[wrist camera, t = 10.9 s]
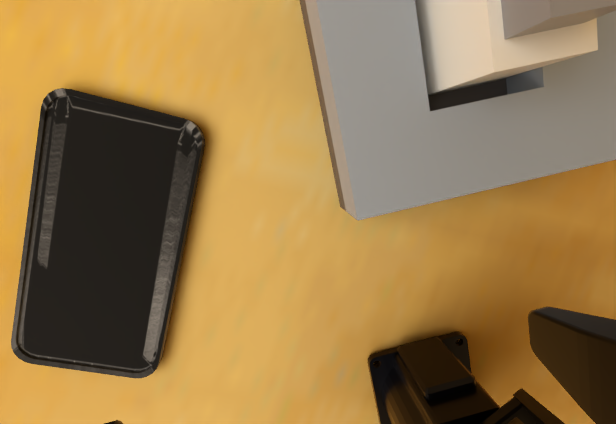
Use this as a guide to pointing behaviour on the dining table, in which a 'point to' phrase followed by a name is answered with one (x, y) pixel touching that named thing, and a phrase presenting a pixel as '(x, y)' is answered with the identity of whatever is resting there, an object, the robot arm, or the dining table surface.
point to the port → (447, 112)
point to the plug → (502, 37)
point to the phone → (104, 234)
